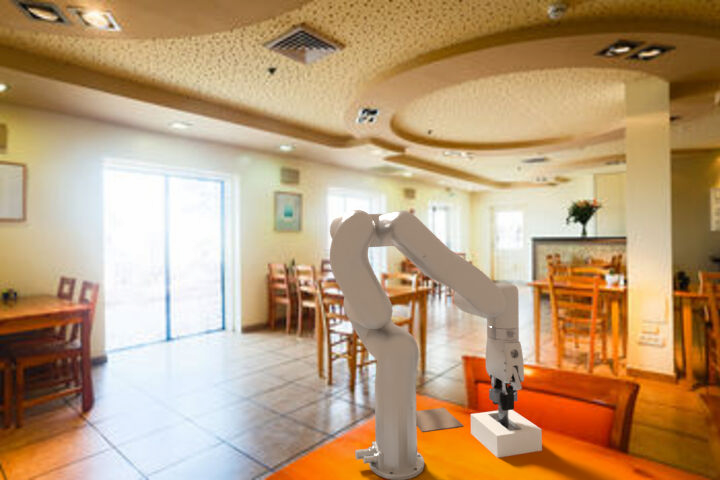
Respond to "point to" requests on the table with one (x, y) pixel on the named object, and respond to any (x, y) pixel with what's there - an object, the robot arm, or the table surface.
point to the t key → (502, 415)
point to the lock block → (506, 434)
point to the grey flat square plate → (436, 420)
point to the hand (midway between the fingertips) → (503, 405)
